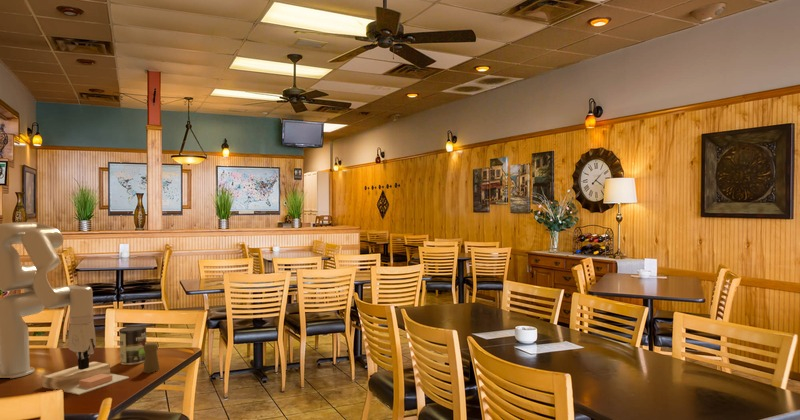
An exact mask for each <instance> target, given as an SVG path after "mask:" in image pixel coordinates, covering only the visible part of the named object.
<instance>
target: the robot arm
mask: <svg viewBox="0 0 800 420" xmlns="http://www.w3.org/2000/svg"><path fill="white" fill-rule="evenodd" d="M63 243H64V236H63V234H62V232H61V231H60V230H59V229H58V228H56V227H55V226H51V225H48V224H44V223H41V222H37V221H19V222H3V223H0V291H1V292H12V291H21V290H23V292H17V293H12V294H8V295H4V296H2V297H0V378H10V379H15V378H21V377H25V376H28V375H31V374H33V373H34V372H35V367H33V366H30V363H31V362H30V361H31V360H30V338H29V336H30V335H29V334H30V333H29V326H28V324H27V323H26V321H25V320H24V318H23V317H29V316H33V315H37V314H39V313H41V312H43V311H44V310H45V308H46V309H48V310H49V309H50V310H51V309H57V308H63V307H67V306H69V316H70V317H69V318H70V319H69V320H70V323H69V327H68V333H67V335H68V337H67V338H68V339H67V340H68V341H67V343H68V344H67V347H68V349H69V350H70V351H72V352H73V353H75V355H76V359H77V366H78V369H80V370H83V369H86V368H89V363H90V359H89V358H90V356H91V355H94V354H95V351H94V350H95V349H96V346H97V344H96V343H97V341H96V340H97V339H96V338H97V337H96V330H95V324H94V300H93V299H94V297H93V295H94V294H93V288H92V286H88V285H87V286H80V285H75V284H70V285H65V286H64V285H62V286H57V287H52V286H51V284H50V281H49V280H48V273H49V272H51V271H53V270H54V269H56V268H57V267H58V266H59V265H60V264H61V258H60V257H59V254H58V253H57V251H56V249H59V247H62V245H63ZM20 244H22V245H23V247H24V249H25V251H26V253H27V254H28V256H29V259H30V260H31V262H32V264H23V265H22V263H21V256H20V253H19V251H18V250H17V249H16V247H14V246H13V245H20Z"/></svg>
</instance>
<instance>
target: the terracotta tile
mask: <svg viewBox="0 0 800 420" xmlns="http://www.w3.org/2000/svg"><path fill="white" fill-rule="evenodd" d="M110 381H113V379H112V375H108V374H103V373H101V374H98V375H95V376H92V377H89V378H85V379H82V380H79V386H82V387H87V388H92V387H95V386H98V385H101V384H104V383H107V382H110Z"/></svg>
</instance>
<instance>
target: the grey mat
mask: <svg viewBox="0 0 800 420" xmlns="http://www.w3.org/2000/svg"><path fill="white" fill-rule="evenodd" d="M108 375H112V379H113V381H110V382H107V383H104V384H101V385H98V386H95V387H92V388H87V387H82V386H79V384H76V385H73V386H70V387H67V388H64V389H63V390H64V392H63V393H69V394H73V395H76V396H77V395H78V396H80V395H83V394H86V393H89V392H92V391H96V390H98V389H101V388H103V387H107V386H110V385H113V384H116V383H119V382H123V381H125V380H128V379H130V377H129V376H127V375H120V374H116V373H110V374H108Z"/></svg>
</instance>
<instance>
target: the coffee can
mask: <svg viewBox="0 0 800 420" xmlns="http://www.w3.org/2000/svg"><path fill="white" fill-rule="evenodd" d="M118 330H119V331H118V332H119V352H120V354H119V356H120V365H124V366H131V365H132V366H133V365H138V364H144V360H145V351H144V345H145V344H147V326H146V325H131V326H125V327H122V328H119V329H118Z"/></svg>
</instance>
